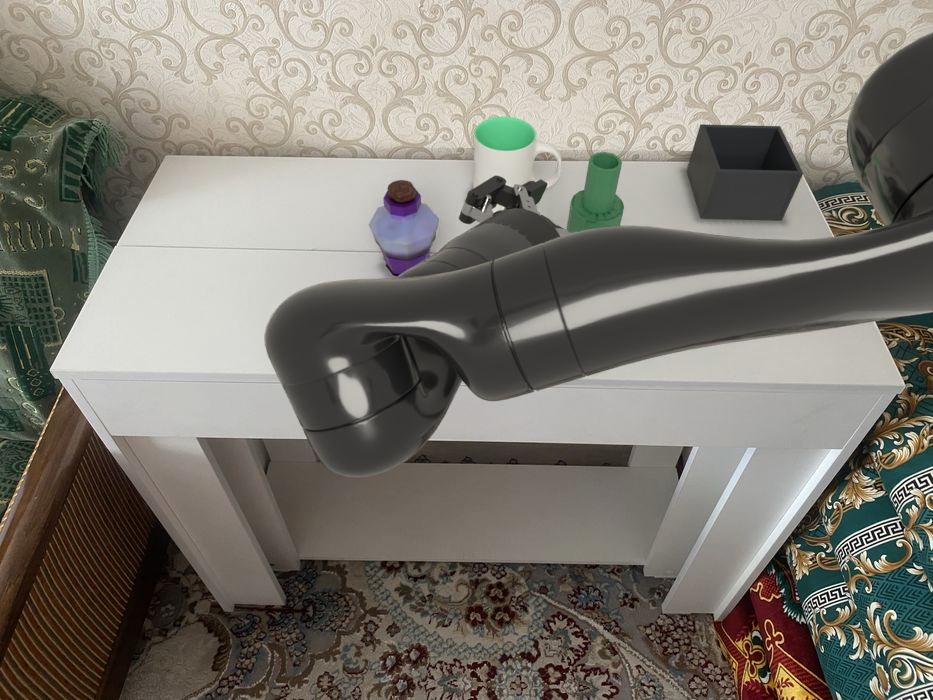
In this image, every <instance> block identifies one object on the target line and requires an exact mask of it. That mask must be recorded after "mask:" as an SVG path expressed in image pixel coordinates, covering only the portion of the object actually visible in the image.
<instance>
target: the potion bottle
mask: <svg viewBox="0 0 933 700" xmlns="http://www.w3.org/2000/svg"><path fill="white" fill-rule="evenodd" d="M439 222H440V218H439V216H438V215H437V214H436V213H435V212H434V211H433V210H432V208H431V207H430V206H429V205H428V204H427V203H422V194H420V192H419V191H418V190H417V188H415V186H414V184H413V183H412V181H409V180H405V179H399V180H394V181H392V182H390V183H389V184H387V191H386V192H385V194H384V196H383V205H382V206H379V207H377V208H376V209H375V212H374V213H373V215H372V218H371V219H370V221H369V222H368V227H369V229H370V232H371V234H372V237H373V239H374V241H375V244H376V245H377V246H378V247H379V249H380V251H381V254H382V256H383V259H384V260H385V263H386V264H385V266H386V268H387V270H388V271H389V272H390V274H391V275H392V276H393V277H397V276H399V275H400V274H402V273H403V272H405V271H406V270H408V269H410V268H411V267H413V266H415V265H416V264H418V263H420V262H422V261H423V260H425V259H427V258H428V257H430V256H429V255H430V251H431V248H432V246H433V243H434V242H435V240H436V238H437V231H438V225H439Z"/></svg>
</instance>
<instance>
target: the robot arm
mask: <svg viewBox="0 0 933 700" xmlns="http://www.w3.org/2000/svg"><path fill="white" fill-rule="evenodd" d="M846 145H847V151H848V156H849V160H850V163H851V166H852V168H853V171H854V172H855V176H856V179H857V181H858V183H859V185H860V187H861V188H862V189H863V191H864V193H865V195H866V197H867V198H868V200H869V202H870V204H871V205H872V207H873V209H874V210H875V211H874V212H875V213H876V214H877V215H878V218H879V219H880V221H881V223H882V224H883V226H879V227H875V228H871V229H868V230H863V231H860V232H854V233H849V234H844V235H838V236H827V237H819V238H808V239H807V238H806V239H779V238H778V239H776V238H774V239H773V238H772V239H771V238H751V237H750V238H749V237H741V236H729V235H721V234H719V235H718V234H713V233H705V232H698V231H691V230H683V229H674V228H666V227H657V226H649V225H620V226H609V227H599V228H593V229H588V230H582V231H578V232H575V233H573V232H569V231H568V230H567V228H564V227H562V226H561V225H557V224H556V223H555V222H554V221H552V220H551V218H548V217H547V216H545V215H544V214H541V213H540V211H538V209H537V207H536V205H538V204H539V203H540V201H541V200H542V198H543V197H544V194H545V191H546V189H547V188H546V187H547V185H548V183H546V182H545V181H543V180H544V179H538V180H539V181H537V182H535V181H529V182H527V183H525V184H523V185H518V184H515V185H514V186H513V187H510V186H508V185H505V184H506V180H505V179H504V178H503V177H500V176H493V177H492V178H490V179H488V180H487V181H485V182H483V183H482V184H480V185H479V186H477V187H475V188H474V189H473V188H472V189H470V190H469V191H468V192H467V194H466V197H465V200H464V201H463V205H462V207H461V211H460V213H459V216H458V220H459V221H460V222H462V224H465V225H471V224H473V223H475V222H477V223H478V224H476V225H474V226H472V227H471V228H469V229H467V230H466V231H464V232H462V233H460V234H459V235H457V236H456V237H454V238H452V239H451V240H450V241H448V242H447V243H446V244H445V245H444V246H442V248H440V249H439V250H438V251H437V252H435V253H434V254H431V255H430V256H428V258H427V259H425V260H423V261H422V262H420V263H418V264H416V265H415V266H413V267H411V268H410V269H408V270H406V271H405V272H403V273H402V274H400V275H399V276H395V277H382V278H351V279H350V278H349V279H340V280H332V281H325V282H321V283H315V284H313V285H310V286H306V287H304V288H302V289H299V290H298V291H296V292H294V293H292V294H291V295H290V296H288V297H287V298H286V299H284V300H283V301H282V302H281V303H280V304H279V305H278V306H277V308H276V309H275V310H274V311H273V313H272V314H271V315H270V317H269V319H268V321H267V323H266V326H265V330H264V335H263V343H264V346H265V352H266V355H267V357H268V360H269V362H270V364H271V366H272V368H273V370H274V372H275V375H276V376H277V378H278V380H279V382H280V385H281V386H282V389H283V391H284V394H285V396H286V397H287V399H288V401H289V404H290V406H291V408H292V409H293V412H294V414H295V417H296V419H297V420H298V423H299V425H300V426H301V429H302V431H303V434H304V435H305V437H306V439H307V442H308V444H309V446H310V449H311V450H312V452H313V454H314V455H315V456H316V458H317V460H318V461H319V463H321V465H322V466H324V468H326V469H327V470H328V471H329V472H331V473H333V474H336V475H338V476H340V477H345V478H350V479H365V478H372V477H376V476H380V475H382V474H385V473H388V472H390V471H392V470H394V469H396V468H398V467H400V466H401V465H403V464H404V463H406V462H407V461H408V460H410V459H411V458H412V457H413V456H414V455H416V454H417V453H418V452H419V451H420V450H421V449H422V448H423V447H424V446H425V445H426V444H427V442H428V441H429V440H430V439H431V438H432V436H433V435H434V434H435V432H436V431H437V430H438V428H439V426H440V425H441V423H442V421H443V420H444V418H445V416H446V415H447V413H448V410H449V409H450V407H451V405H452V403H453V401H454V398H455V396H456V394H457V393H458V391H459V389H460V386H461V384H462V383H464V385H465V386H466V387H467V388H468V390H469V391H471V393H472V394H474V395H475V396H476V397H477V398H479V399H481V400H483V401H487V402H500V401H506V400H511V399H514V398H519V397H521V396H524V395H528V394H529V395H530V394H532V393H535V391H537V392H539V391H542V390H545V389H549V388H552V387H556V386H559V385H562V384H566V383H570V382H573V381H577V380H579V379H582V378H586V377H590V376H593V375H597V374H600V373H603V372H606V371H609V370H613V369H616V368H620V367H623V366H628V365H631V364H634V363H639V362H642V361H647V360H651V359H655V358H658V357H662V356H666V355H671V354H676V353H681V352H685V351H690V350H691V351H692V350H696V349H702V348H709V347H714V346H721V345H727V344H733V343H734V344H735V343H740V342H747V341H754V340H760V339H761V340H762V339H767V338H776V337H784V336H790V335H798V334H804V333H811V332H818V331H825V330H832V329H838V328H839V329H840V328H845V327H851V326H857V325H863V324H869V323H874V322H880V321H887V320H893V319H899V318H905V317H911V316H917V315H923V314H931V313H933V31H932V32H930V33H928V34H925V35H923V36H921V37H920V36H919V38H917V39H916V40H914V41H911V42H910V43H909V44H907V45H905V46H904V47H902V48H900V49H898V50H897V51H896V52H895V53H893V54H892V55H891V56H890V57H888V58H887V59H886V60H885V61H883V62H882V63H881V64H879V66H878V67H876V69H875V70H874V71H873V72H872V73H871V74H870V76H869V77H868V78H867V79H866V81H865V82H864V84H863V85H862V87H861V89H860V90H859V92H858V93H857V95H856V96H855V98H854V101H853V103H852V106H851V109H850V111H849V114H848V118H847V127H846ZM497 204H498V205H501V206H503V207H504V210H499V211H496V212H495V213H494V212H493V211H492V209H493V208H495V207H496V206H497Z"/></svg>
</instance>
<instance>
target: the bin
mask: <svg viewBox="0 0 933 700" xmlns="http://www.w3.org/2000/svg"><path fill="white" fill-rule="evenodd" d="M686 174H687V177H688V180H689V183H690V188H691V190H692V194H693V197H694V201H695V203H696V207H697V210H698V213H699V217H700V219H701V220H731V221H733V220H734V221H735V220H736V221H776V222H777V221H778V222H779V221H783V219H784V217H785V215H786V213H787V210H788V208H789V206H790V204H791V202H792V199H793V197H794V195H795V193H796V191H797V189H798V186H799V184H800V182H801V180H802V177H803V176H804V172H803V170H802V168H801V166H800V164H799V162H798V160H797V157H796V155H795V153H794V152H793V149H792V147H791V145H790V143H789V141H788V139H787V137H786V135H785V133H784V131H783V129H782V126H781V125H750V124H749V125H745V124H743V125H742V124H704V123H703V124H699V127H698V131H697V134H696V137H695V141H694V144H693V147H692V151H691V155H690V158H689V160H688V164H687V168H686Z"/></svg>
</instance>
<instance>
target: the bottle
mask: <svg viewBox="0 0 933 700" xmlns="http://www.w3.org/2000/svg"><path fill="white" fill-rule="evenodd" d="M622 165H623V161H622V159H621V158H620V157H619V156H618V155H616V154H614V153H612V152H607V151H601V152H595V153H593V154H592V155H590V157H589V159H588V164H587V170H586V177H585V182H584V188H583V189H582V190H578V192H577V193H575V194H573V196H572V198H571V200H570V205H569V209H568V210H569V211H568V216H567V217H568V218H567V223H566V229H567V230H568V231H569V232H573V233H575V232H578V231H582V230H588V229H593V228H599V227H609V226H621V225H622V218H623V215H624V210H625V205H624V202H623V199H621V198H620V197H619V196H618V195H617V194H616V193H617V189H618V185H619V180H620V174H621V171H622Z"/></svg>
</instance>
